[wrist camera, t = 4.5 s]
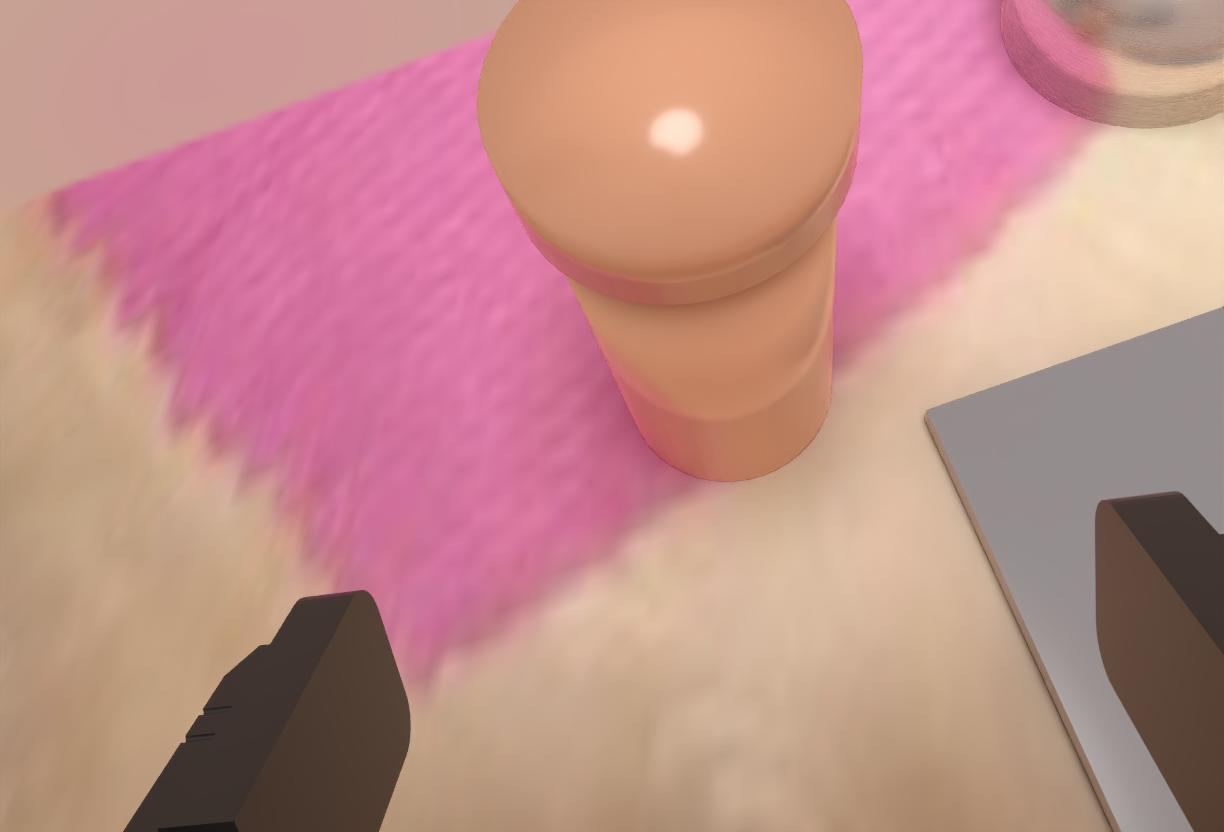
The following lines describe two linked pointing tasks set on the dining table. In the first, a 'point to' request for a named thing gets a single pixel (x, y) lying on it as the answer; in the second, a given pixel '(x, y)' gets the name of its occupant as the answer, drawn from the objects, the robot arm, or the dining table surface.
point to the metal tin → (1121, 57)
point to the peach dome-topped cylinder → (688, 202)
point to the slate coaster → (1089, 516)
